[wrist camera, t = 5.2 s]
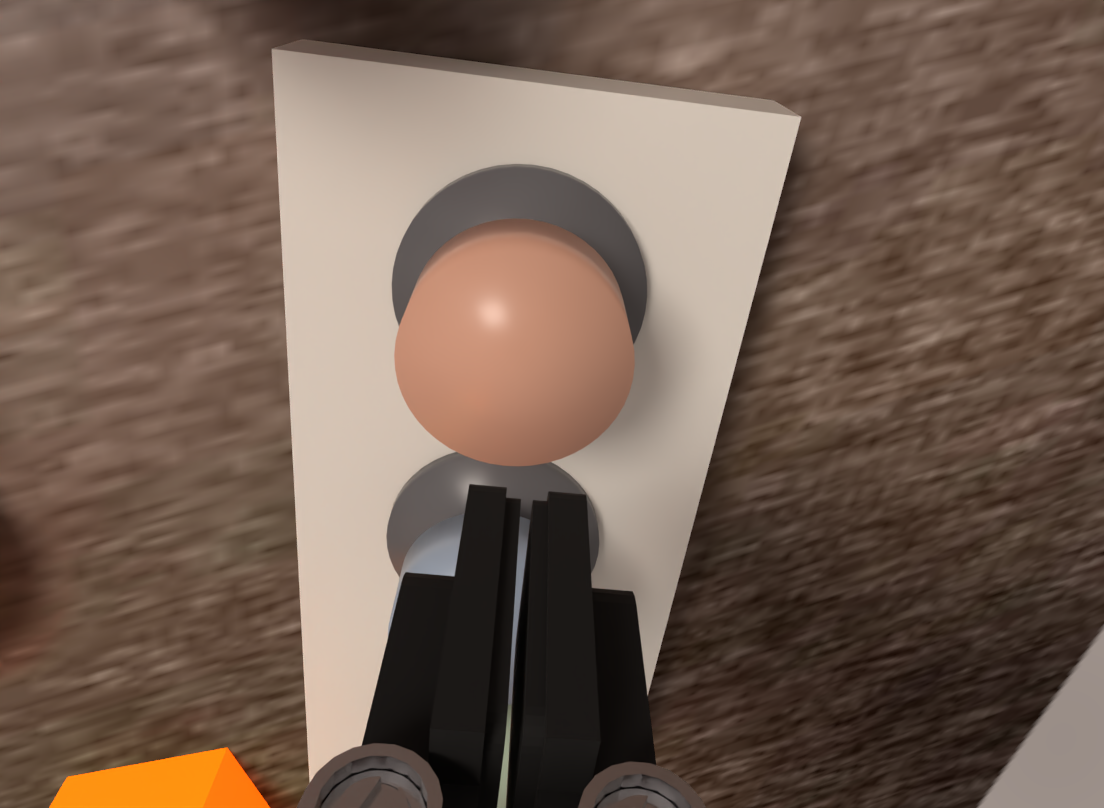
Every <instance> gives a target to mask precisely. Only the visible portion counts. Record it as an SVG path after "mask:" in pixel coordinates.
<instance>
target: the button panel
mask: <svg viewBox="0 0 1104 808" xmlns="http://www.w3.org/2000/svg"><path fill="white" fill-rule="evenodd" d="M272 65H273V84H274V103H275V122H276V142H277V161H278V180H279V200H280V219H281V238H282V258H283V277H284V296H285V316H286V335H287V354H288V374H289V393H290V412H291V432H292V451H293V470H294V490H295V509H296V528H297V548H298V567H299V586H300V606H301V625H302V644H303V664H304V683H305V702H306V722H307V741H308V760H309V779H310V782H311V780H312V779H313V777H314V776H315V774H316V773H317V771H319V770H320V769H321V768H322V767H323V766H324V765H325V764H327V763H328V762H329V761H330V760H331V759H332V758H333V757H335V756H337V755H339V754H341V753H343V752H345V751H347V750H349V749H351V748H353V747H358V746H362V742H363V738H364V734H365V730H366V726H367V721H368V717H369V713H370V709H371V705H372V701H373V697H374V693H375V689H376V685H377V680H378V676H379V672H380V668H381V664H382V660H383V656H384V652H385V648H386V643H387V639H388V627H389V621H390V617H391V613H392V608H393V604H394V600H395V596H396V591H397V587H398V583H399V578H400V574H401V570H402V566H403V562H404V559H405V556H406V554H407V552H408V550H409V549H410V547H411V546H412V544H413V543H414V542H415V540H416V539H417V538H418V537H419V536H420V535H421V534H423V533H424V532H425V531H426V530H428V529H429V528H430V527H432V526H434V525H436V524H437V523H439V522H441V521H444V520H446V519H448V518H451V517H454V516H458V515H461V514H465V508H466V501H467V495H468V489H469V485H470V484H475V485H486V486H497V487H507V493H506V498H517V499H521V508H520V516H521V517H523V518H526V519H529V520H530V518H531V509H532V502H533V500H539V501H547V496H548V492H549V491H552V492H563V493H575V494H586V496H587V510H588V527H589V545H590V563H591V581H592V588H600V589H612V590H623V591H633V593H634V595H635V600H636V605H637V613H638V621H639V630H640V638H641V646H642V654H643V662H644V670H645V678H646V687H647V695H648V693H649V689H650V685H651V681H652V678H653V674H654V670H655V666H656V662H657V659H658V655H659V651H660V647H661V644H662V640H663V636H664V632H665V629H666V625H667V621H668V617H669V613H670V610H671V606H672V602H673V598H674V595H675V591H676V587H677V583H678V580H679V576H680V572H681V568H682V565H683V561H684V557H685V553H686V549H687V546H688V542H689V538H690V534H691V531H692V527H693V523H694V519H695V516H696V512H697V508H698V504H699V501H700V497H701V493H702V489H703V485H704V482H705V478H706V474H707V470H708V467H709V463H710V459H711V455H712V452H713V448H714V444H715V440H716V436H717V433H718V429H719V425H720V421H721V418H722V414H723V410H724V406H725V403H726V399H727V395H728V391H729V388H730V384H731V380H732V376H733V372H734V369H735V365H736V361H737V357H738V354H739V350H740V346H741V342H742V339H743V335H744V331H745V327H746V323H747V320H748V316H749V312H750V308H751V305H752V301H753V297H754V293H755V290H756V286H757V282H758V278H759V275H760V271H761V267H762V263H763V259H764V256H765V252H766V248H767V244H768V241H769V237H770V233H771V229H772V226H773V222H774V218H775V214H776V210H777V207H778V203H779V199H780V195H781V192H782V188H783V184H784V180H785V177H786V173H787V169H788V165H789V162H790V158H791V154H792V150H793V146H794V143H795V139H796V135H797V131H798V128H799V124H800V120H801V116H799V115H797V114H796V113H794V112H792V111H791V110H789V109H787V108H785V107H784V106H782V105H780V104H779V103H777V102H775V101H774V100H767V99H759V98H752V97H744V96H736V95H729V94H721V93H713V92H706V91H698V90H690V89H682V88H675V87H667V86H659V85H652V84H644V83H636V82H629V81H621V80H613V79H606V78H598V77H590V76H582V75H575V74H567V73H559V72H552V71H544V70H536V69H529V68H521V67H513V66H505V65H498V64H490V63H482V62H475V61H467V60H459V59H452V58H444V57H436V56H429V55H421V54H413V53H405V52H398V51H390V50H382V49H375V48H367V47H359V46H352V45H344V44H336V43H329V42H321V41H313V40H305V39H301V40H298V41H295V42H292V43H288V44H285V45H282V46H279V47H276V48H272ZM513 218H517V219H531V220H537V221H542V222H546V223H549V224H552V225H555V226H559V227H561V228H563V229H565V230H567V231H569V232H571V233H573V234H575V235H576V236H578V237H579V238H581V239H582V240H584V241H585V242H586V243H587V244H589V245H590V246H591V247H592V248H593V249H595V250H596V252H597V253H598V254H599V255H600V256H601V257H602V258H603V259H604V260H605V262H606V263H607V265H608V266H609V268H610V269H611V271H612V272H613V274H614V276H615V279H616V281H617V283H618V285H619V288H620V291H621V294H622V297H623V301H624V306H625V310H626V314H627V318H628V323H629V327H630V331H631V335H632V341H633V346H634V357H635V367H634V375H633V381H632V385H631V389H630V392H629V395H628V397H627V399H626V402H625V404H624V406H623V408H622V409H621V411H620V413H619V414H618V416H617V418H616V419H615V420H614V421H613V423H612V424H611V425H610V426H609V428H608V429H607V430H605V431H604V432H603V433H602V434H601V435H600V436H599V437H598V438H597V439H596V440H594V441H593V442H592V443H590V444H589V445H588V446H586V447H584V448H583V449H581V450H579V451H577V452H576V453H574V454H571V455H569V456H567V457H564V458H562V459H559V460H555V461H552V462H549V463H544V464H538V465H532V466H502V465H495V464H489V463H485V462H481V461H478V460H474V459H472V458H469V457H467V456H464V455H462V454H460V453H458V452H456V451H454V450H452V449H450V448H448V447H447V446H445V445H444V444H443V443H441V442H440V441H438V440H437V439H436V438H434V437H433V436H432V435H431V434H430V433H429V432H428V431H426V430H425V428H424V427H423V426H422V425H421V424H420V423H419V422H418V421H417V419H416V418H415V417H414V415H413V414H412V412H411V411H410V409H409V408H408V406H407V404H406V402H405V400H404V398H403V396H402V393H401V390H400V388H399V385H398V382H397V376H396V371H395V360H394V352H395V341H396V337H397V333H398V329H399V325H400V323H401V320H402V318H403V315H404V313H405V310H406V308H407V305H408V303H409V300H410V298H411V295H412V293H413V290H414V288H415V285H416V283H417V280H418V278H419V276H420V274H421V272H422V270H423V269H424V267H425V265H426V264H427V262H428V261H429V260H430V258H431V257H432V256H433V255H434V254H435V252H436V251H437V250H438V249H439V248H441V247H442V246H443V245H444V244H445V243H446V242H447V241H449V240H450V239H452V238H453V237H455V236H456V235H457V234H459V233H461V232H463V231H465V230H467V229H469V228H471V227H474V226H477V225H479V224H482V223H485V222H490V221H495V220H500V219H513Z"/></svg>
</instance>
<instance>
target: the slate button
mask: <svg viewBox="0 0 1104 808" xmlns="http://www.w3.org/2000/svg"><path fill="white" fill-rule="evenodd" d="M463 520H464V514H461V515H458V516H454V517H451V518H448V519H446V520H444V521H441V522H439V523H437V524H436V525H434V526H432V527H430V528H429V529H428V530H426V531H425V532H424V533H423V534H421V535H420V536H419V537H418V538H417V539H416V540H415V542H414V543H413V544H412V546H411V547H410V549H409V550H408V552H407V554H406V556H405V559H404V562H403V566H402V570H401V574H400V578H399V583H398V587H397V591H396V596H395V600H394V604H393V608H392V613H391V617H390V621H389V627H388V635H389V631H390V627H391V623H392V619H393V615H394V611H395V607H396V602H397V598H398V594H399V590H400V586H401V582H402V579H403V576H404V574H405V572H409V573H421V574H433V575H445V576H455V569H456V563H457V557H458V551H459V545H460V539H461V532H462V526H463ZM529 526H530V520H529V519H526V518H523V517H521V516H520V524H519V539H518V555H517V571H516V587H515V603H514V618H513V634H512V650H511V666H510V682H509V697H508V705H510V704H512V692H513V675H514V658H515V645H516V634H517V626H518V618H519V609H520V601H521V593H522V584H523V576H524V568H525V559H526V551H527V543H528V534H529Z"/></svg>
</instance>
